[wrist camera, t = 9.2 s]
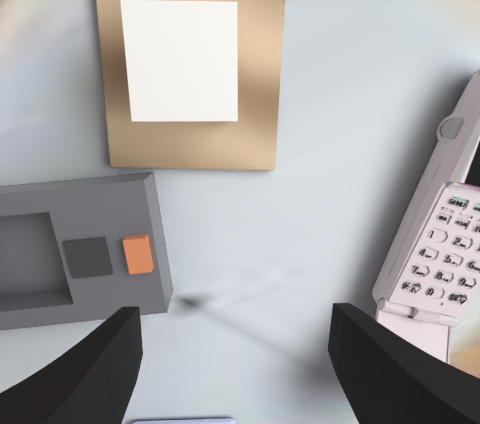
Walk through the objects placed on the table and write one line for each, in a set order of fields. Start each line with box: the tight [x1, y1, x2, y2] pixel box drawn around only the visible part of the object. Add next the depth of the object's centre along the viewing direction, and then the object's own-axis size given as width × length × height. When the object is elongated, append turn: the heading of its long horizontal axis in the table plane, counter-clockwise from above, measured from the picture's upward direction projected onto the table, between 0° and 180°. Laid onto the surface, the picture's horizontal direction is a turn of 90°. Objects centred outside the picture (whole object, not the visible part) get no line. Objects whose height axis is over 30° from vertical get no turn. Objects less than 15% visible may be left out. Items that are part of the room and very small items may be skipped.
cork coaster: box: [96, 0, 285, 170], centre depth 18 cm, size 10×10×1 cm
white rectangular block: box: [120, 0, 238, 121], centre depth 14 cm, size 4×4×6 cm
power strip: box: [0, 172, 173, 330], centre depth 19 cm, size 16×8×4 cm, turn 95°
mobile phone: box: [372, 69, 480, 364], centre depth 19 cm, size 6×6×25 cm
